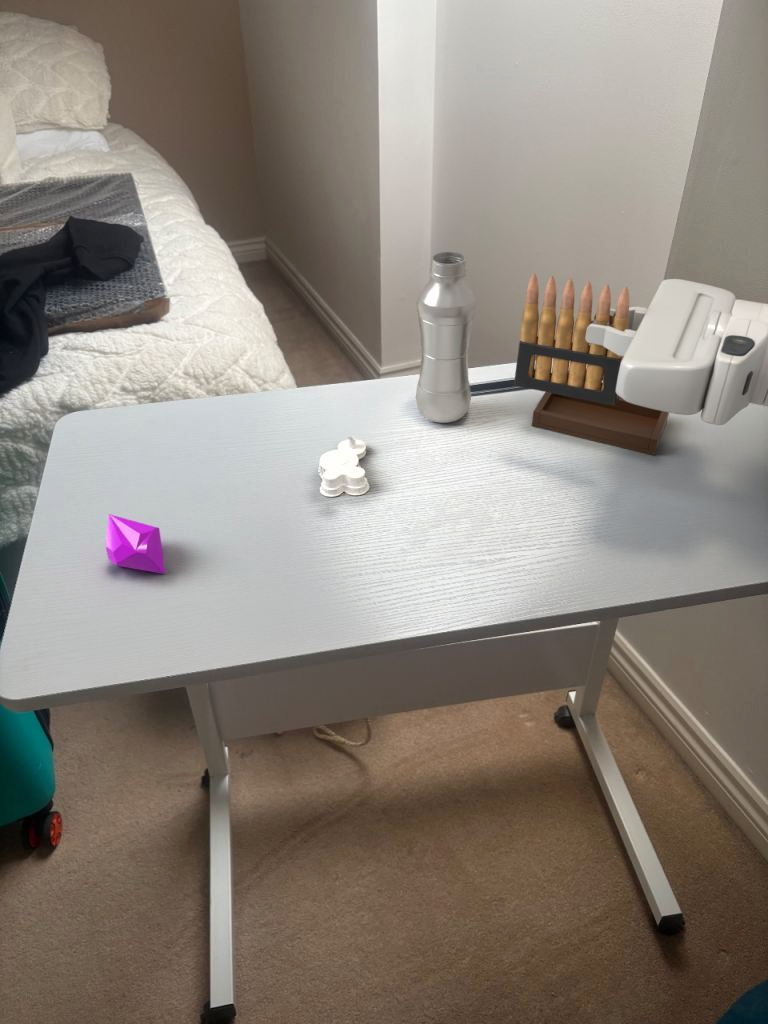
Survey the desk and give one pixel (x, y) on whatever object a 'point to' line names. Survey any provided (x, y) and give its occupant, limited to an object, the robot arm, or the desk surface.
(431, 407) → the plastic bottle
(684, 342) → the robot arm
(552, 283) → the ammunition clip
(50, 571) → the desk surface
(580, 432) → the tray
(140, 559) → the crystal
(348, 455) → the white lobed figurine
